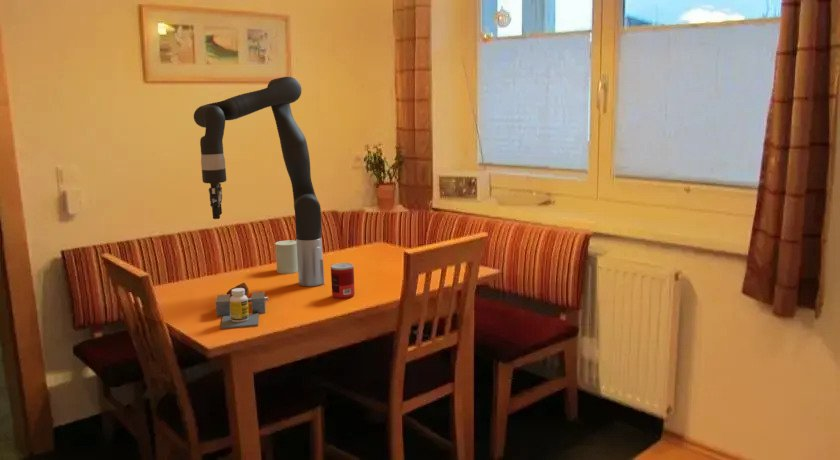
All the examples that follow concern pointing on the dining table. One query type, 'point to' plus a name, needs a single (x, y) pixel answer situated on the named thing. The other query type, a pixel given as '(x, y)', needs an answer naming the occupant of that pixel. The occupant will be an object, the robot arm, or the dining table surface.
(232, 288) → the brown rock
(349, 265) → the canned food
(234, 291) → the supplement bottle
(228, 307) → the vise
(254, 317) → the coaster
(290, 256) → the can
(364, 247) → the dining table surface
